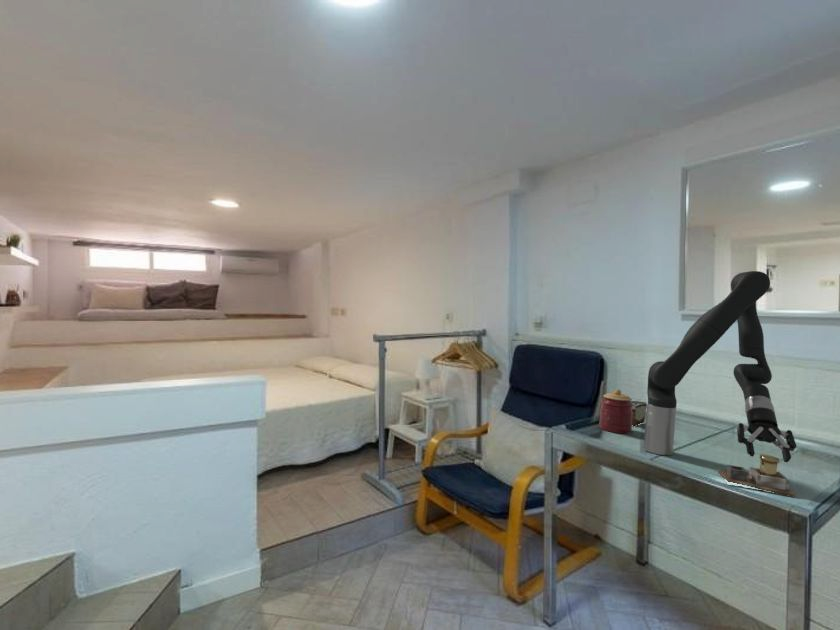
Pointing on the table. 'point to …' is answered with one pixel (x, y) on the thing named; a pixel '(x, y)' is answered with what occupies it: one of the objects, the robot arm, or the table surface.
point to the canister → (616, 413)
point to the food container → (638, 412)
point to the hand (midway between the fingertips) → (769, 458)
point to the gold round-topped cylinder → (768, 465)
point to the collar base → (757, 479)
